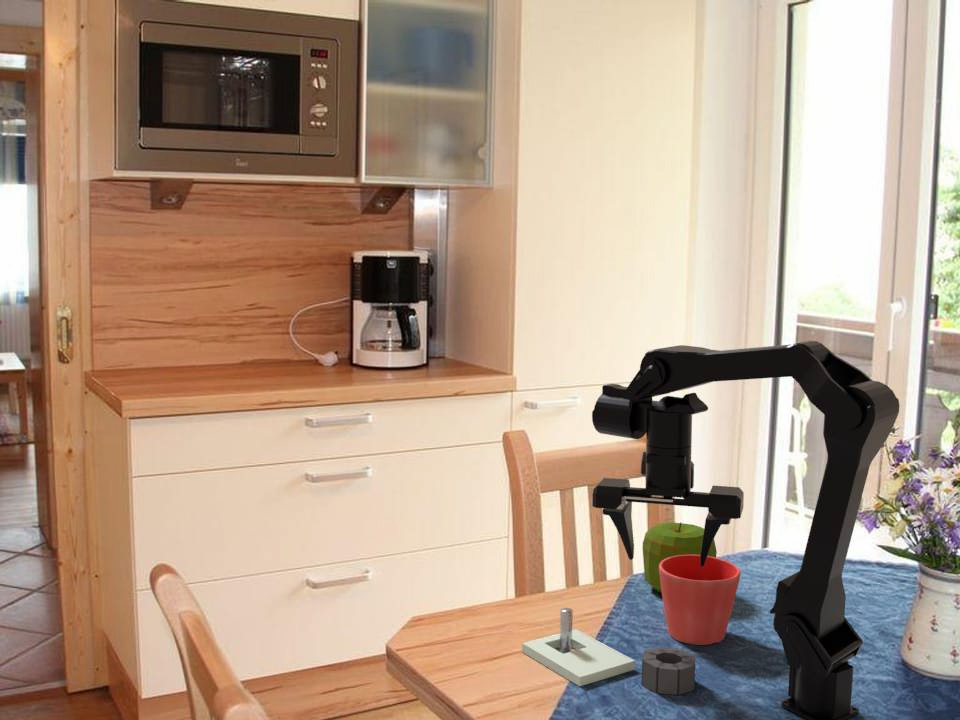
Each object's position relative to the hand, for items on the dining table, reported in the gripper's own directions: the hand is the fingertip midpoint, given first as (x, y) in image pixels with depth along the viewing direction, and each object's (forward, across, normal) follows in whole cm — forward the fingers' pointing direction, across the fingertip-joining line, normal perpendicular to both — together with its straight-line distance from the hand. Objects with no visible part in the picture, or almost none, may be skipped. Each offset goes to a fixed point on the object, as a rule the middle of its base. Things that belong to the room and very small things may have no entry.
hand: (666, 562), depth 138 cm
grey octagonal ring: (+13, -2, +8) cm, 15 cm away
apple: (+13, +2, -25) cm, 28 cm away
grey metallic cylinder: (+12, +12, +4) cm, 18 cm away
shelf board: (+13, +11, +5) cm, 17 cm away
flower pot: (+13, -3, -9) cm, 16 cm away
